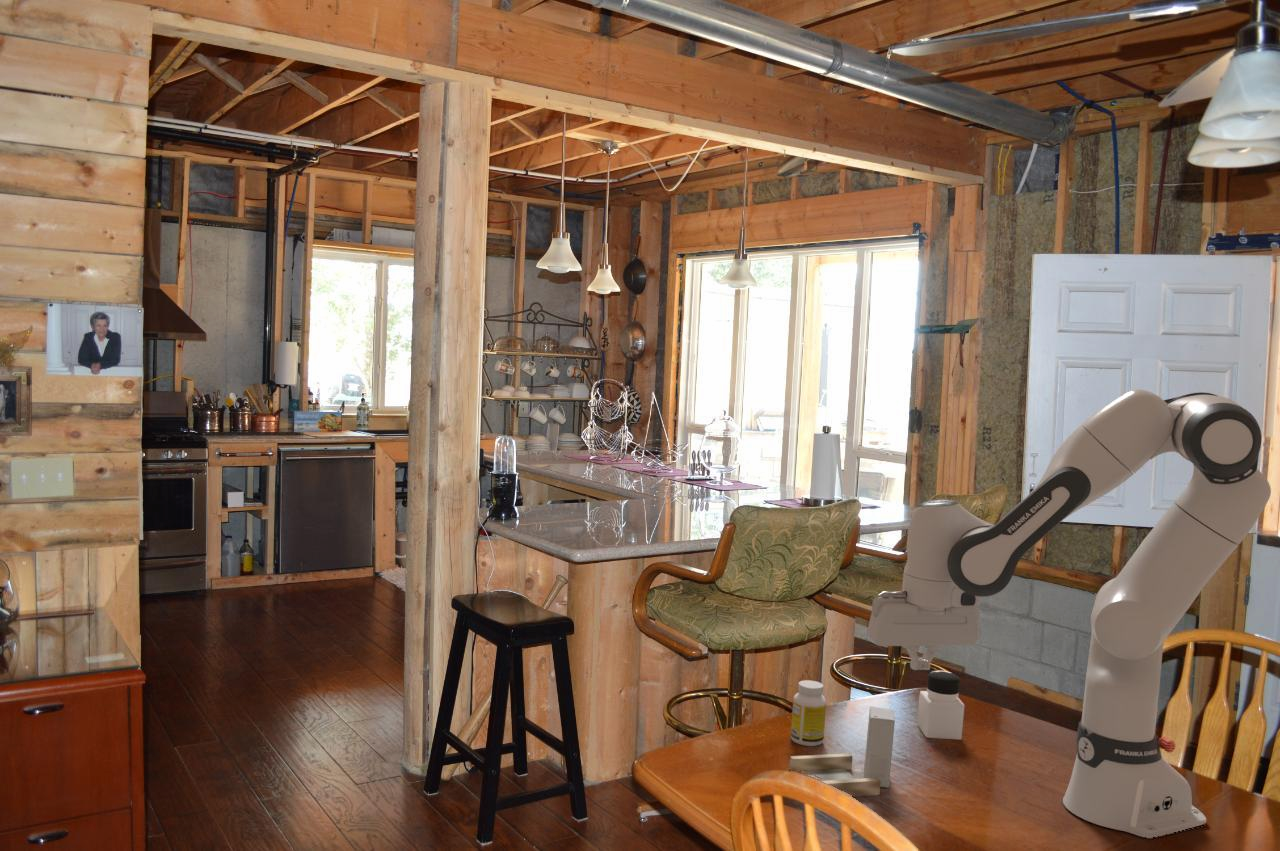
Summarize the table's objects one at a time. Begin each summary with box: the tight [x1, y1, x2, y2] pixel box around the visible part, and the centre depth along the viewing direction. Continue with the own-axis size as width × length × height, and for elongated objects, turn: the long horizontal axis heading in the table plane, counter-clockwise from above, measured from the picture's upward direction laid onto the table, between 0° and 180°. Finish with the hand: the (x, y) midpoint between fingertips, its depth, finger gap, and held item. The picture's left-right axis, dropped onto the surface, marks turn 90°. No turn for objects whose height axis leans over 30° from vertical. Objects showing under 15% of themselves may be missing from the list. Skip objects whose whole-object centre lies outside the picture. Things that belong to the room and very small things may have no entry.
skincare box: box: [863, 706, 896, 789], centre depth 178 cm, size 6×4×12 cm
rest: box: [788, 752, 881, 798], centre depth 176 cm, size 12×11×2 cm
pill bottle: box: [790, 679, 827, 747], centre depth 194 cm, size 6×6×11 cm
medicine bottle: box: [916, 670, 966, 741], centre depth 203 cm, size 7×7×12 cm
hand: (919, 669), depth 179 cm, fingers closed
